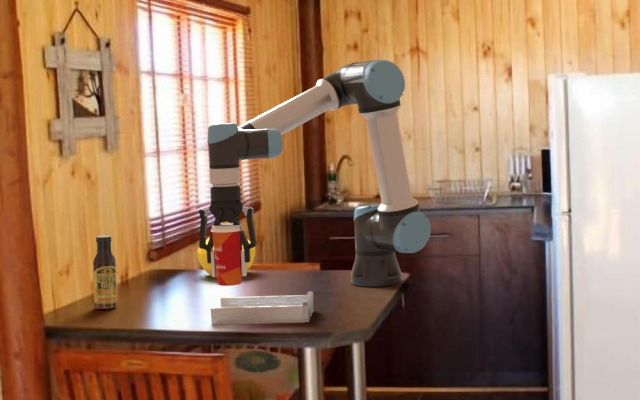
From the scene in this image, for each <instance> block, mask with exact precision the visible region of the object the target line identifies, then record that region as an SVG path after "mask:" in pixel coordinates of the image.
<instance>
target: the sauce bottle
mask: <svg viewBox="0 0 640 400" xmlns="http://www.w3.org/2000/svg"><path fill="white" fill-rule="evenodd" d="M95 242H96V255H95V256H94V259H93V261H92V262H93V263H92V264H93V269H92V275H93V281H92V282H93V302H94V309H96V310H100V309H106V310H111V308H113V309H116V308H117V306H118V304H117V303H118V284H117V283H118V281H117V280H118V278H117V277H118V276H117V263H116V262H117V261H116V257H115V256H114V254H113V252H112V236H111V235H97V236H95ZM115 307H116V308H115Z"/></svg>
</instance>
